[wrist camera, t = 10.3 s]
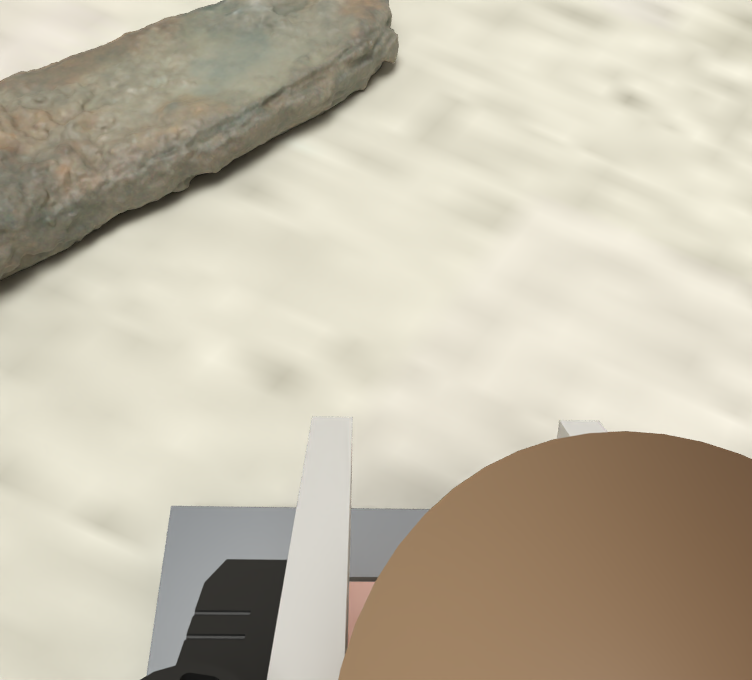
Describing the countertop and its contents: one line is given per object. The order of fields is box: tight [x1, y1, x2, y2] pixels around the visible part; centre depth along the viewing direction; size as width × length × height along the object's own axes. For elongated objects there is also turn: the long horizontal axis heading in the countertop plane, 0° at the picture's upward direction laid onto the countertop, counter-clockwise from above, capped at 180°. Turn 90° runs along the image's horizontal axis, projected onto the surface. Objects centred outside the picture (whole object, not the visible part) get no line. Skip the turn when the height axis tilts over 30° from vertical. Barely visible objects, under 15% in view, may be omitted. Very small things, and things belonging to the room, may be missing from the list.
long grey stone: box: [0, 0, 399, 280], centre depth 27 cm, size 35×5×10 cm
